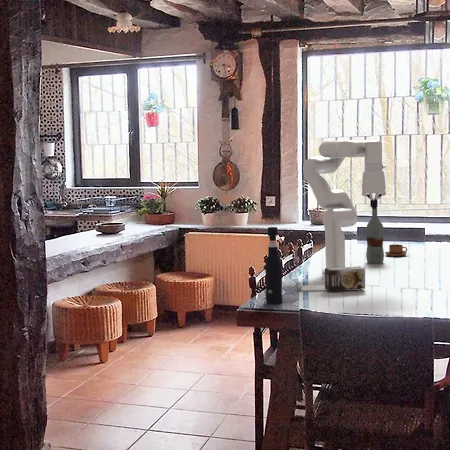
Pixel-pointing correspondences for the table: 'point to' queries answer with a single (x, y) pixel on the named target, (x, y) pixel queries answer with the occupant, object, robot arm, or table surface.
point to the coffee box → (344, 278)
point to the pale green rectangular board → (313, 288)
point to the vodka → (374, 240)
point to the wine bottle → (273, 270)
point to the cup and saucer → (396, 250)
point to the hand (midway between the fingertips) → (374, 208)
